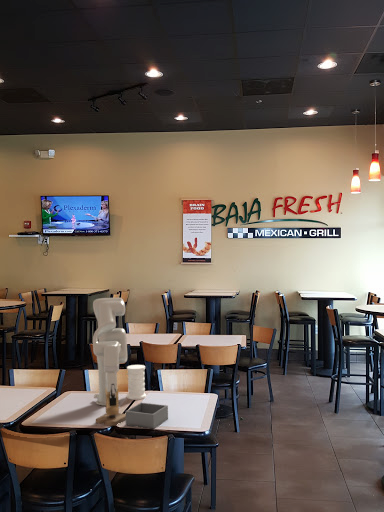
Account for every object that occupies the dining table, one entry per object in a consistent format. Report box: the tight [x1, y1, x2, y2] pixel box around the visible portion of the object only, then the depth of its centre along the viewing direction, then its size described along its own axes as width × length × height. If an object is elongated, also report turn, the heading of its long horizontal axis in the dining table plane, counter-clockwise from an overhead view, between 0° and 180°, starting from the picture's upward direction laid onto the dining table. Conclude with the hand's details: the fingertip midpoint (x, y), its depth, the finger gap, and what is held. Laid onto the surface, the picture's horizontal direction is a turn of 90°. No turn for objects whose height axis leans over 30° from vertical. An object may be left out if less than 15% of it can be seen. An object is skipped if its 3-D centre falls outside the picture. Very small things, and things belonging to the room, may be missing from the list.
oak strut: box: [105, 386, 120, 416], centre depth 250 cm, size 6×6×13 cm
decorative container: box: [126, 364, 147, 401], centre depth 292 cm, size 12×12×18 cm
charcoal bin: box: [125, 402, 169, 430], centre depth 246 cm, size 16×16×7 cm
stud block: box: [95, 413, 126, 427], centre depth 250 cm, size 12×12×9 cm
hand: (112, 403), depth 250 cm, fingers closed on oak strut, 5 cm apart
